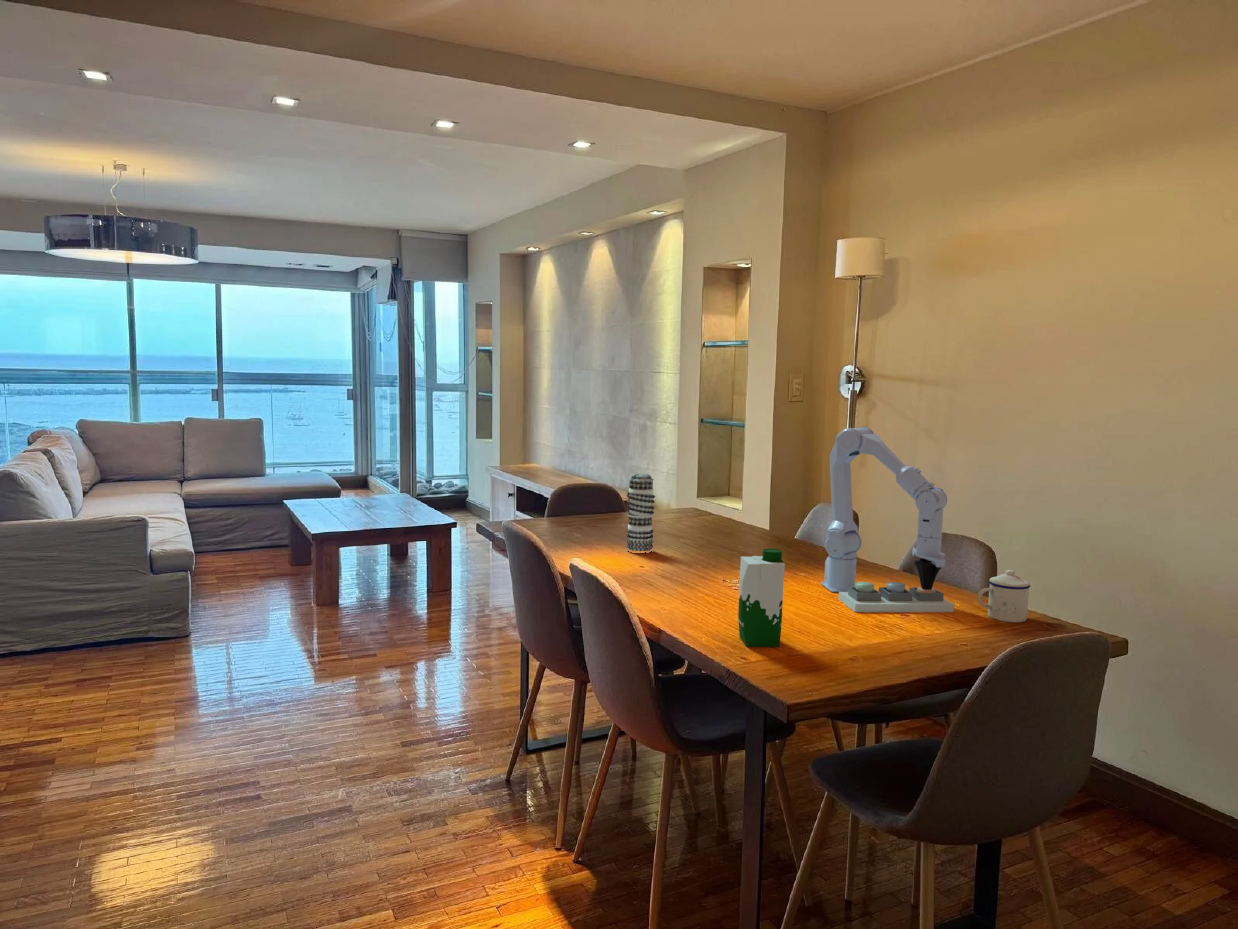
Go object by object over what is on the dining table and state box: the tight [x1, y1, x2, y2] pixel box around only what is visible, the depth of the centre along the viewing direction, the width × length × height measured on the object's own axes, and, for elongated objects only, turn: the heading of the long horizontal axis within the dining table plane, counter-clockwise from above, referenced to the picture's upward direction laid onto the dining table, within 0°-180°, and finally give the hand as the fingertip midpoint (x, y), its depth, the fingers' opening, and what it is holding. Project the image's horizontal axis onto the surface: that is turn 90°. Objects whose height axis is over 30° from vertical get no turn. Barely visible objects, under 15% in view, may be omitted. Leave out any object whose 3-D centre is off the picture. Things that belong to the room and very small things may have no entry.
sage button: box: [855, 581, 875, 593], centre depth 214 cm, size 4×4×2 cm
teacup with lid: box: [977, 569, 1031, 624], centre depth 206 cm, size 12×9×12 cm
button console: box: [838, 586, 955, 613], centre depth 215 cm, size 12×25×4 cm, turn 95°
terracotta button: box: [917, 586, 936, 593], centre depth 216 cm, size 4×4×2 cm
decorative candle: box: [626, 473, 656, 551], centre depth 275 cm, size 9×9×25 cm
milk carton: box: [737, 548, 786, 648], centre depth 182 cm, size 9×9×20 cm
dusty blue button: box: [886, 581, 906, 593], centre depth 215 cm, size 4×4×2 cm
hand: (926, 589), depth 216 cm, fingers closed, pressing on terracotta button
